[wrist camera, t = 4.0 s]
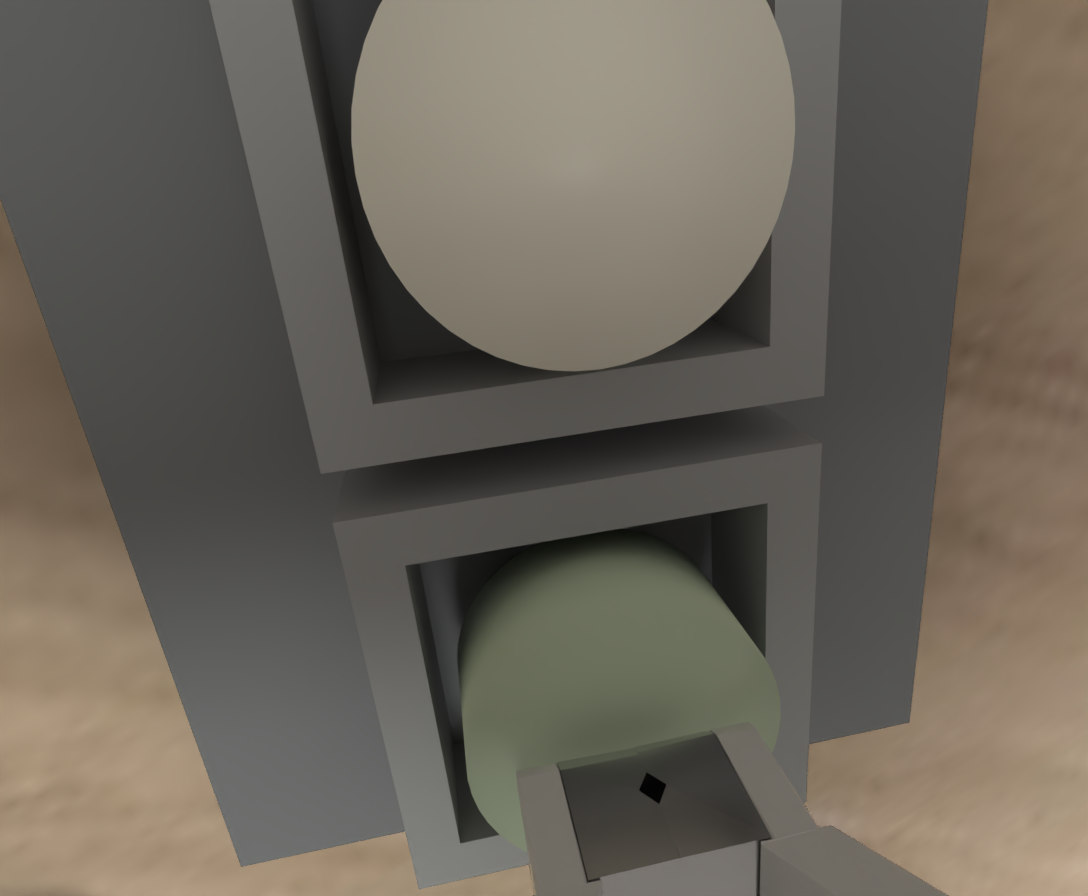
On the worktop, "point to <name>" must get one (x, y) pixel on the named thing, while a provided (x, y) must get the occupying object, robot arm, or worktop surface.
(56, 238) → the button panel
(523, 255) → the cream button
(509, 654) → the green button
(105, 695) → the worktop surface
